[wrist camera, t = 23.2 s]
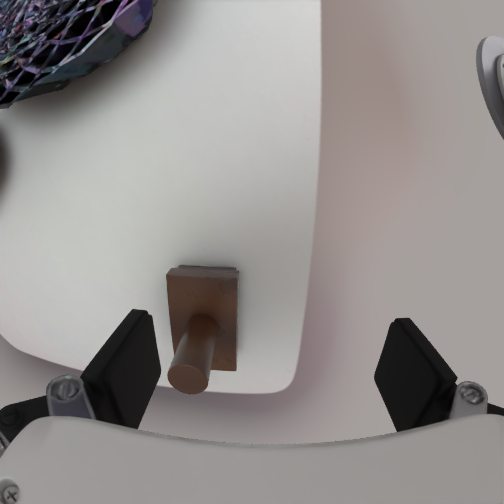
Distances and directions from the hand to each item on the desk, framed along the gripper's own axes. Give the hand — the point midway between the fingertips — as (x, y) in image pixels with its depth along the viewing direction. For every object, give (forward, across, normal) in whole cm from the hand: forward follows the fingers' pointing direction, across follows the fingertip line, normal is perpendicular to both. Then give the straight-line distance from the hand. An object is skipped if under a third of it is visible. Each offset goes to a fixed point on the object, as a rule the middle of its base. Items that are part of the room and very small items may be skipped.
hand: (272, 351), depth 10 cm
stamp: (+14, +5, +6) cm, 16 cm away
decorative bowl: (+14, +20, -26) cm, 36 cm away
